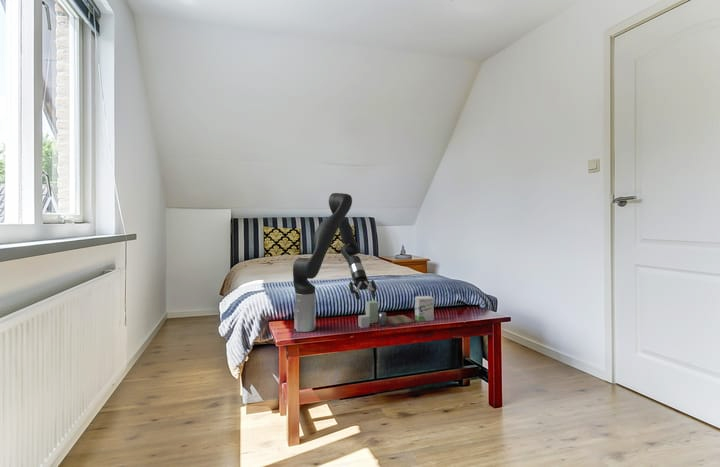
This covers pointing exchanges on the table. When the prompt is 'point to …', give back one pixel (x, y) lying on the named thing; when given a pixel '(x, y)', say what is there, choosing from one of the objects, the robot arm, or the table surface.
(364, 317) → the grey block
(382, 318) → the metal cylinder
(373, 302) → the sage block
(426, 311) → the ink box
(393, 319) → the walnut board
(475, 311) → the table surface
